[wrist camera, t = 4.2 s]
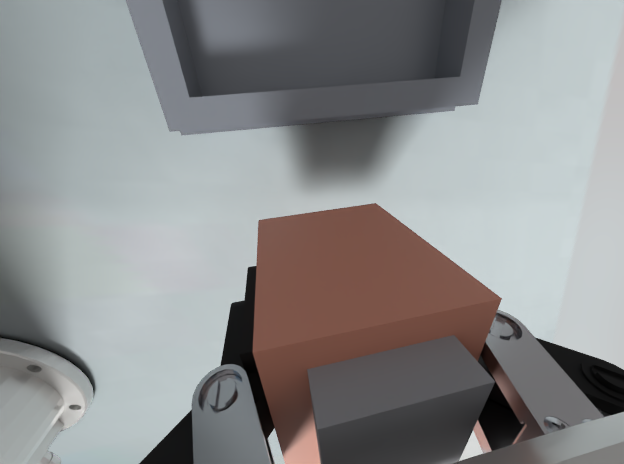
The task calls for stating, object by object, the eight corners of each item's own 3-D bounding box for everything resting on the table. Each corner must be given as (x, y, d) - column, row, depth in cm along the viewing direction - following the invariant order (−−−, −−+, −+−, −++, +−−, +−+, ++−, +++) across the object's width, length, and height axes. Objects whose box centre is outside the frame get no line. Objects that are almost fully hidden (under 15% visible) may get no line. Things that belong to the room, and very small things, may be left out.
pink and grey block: (370, 306, 13) (472, 484, 7) (279, 325, 12) (296, 542, 6) (375, 203, 10) (556, 340, 4) (258, 220, 9) (249, 416, 3)
